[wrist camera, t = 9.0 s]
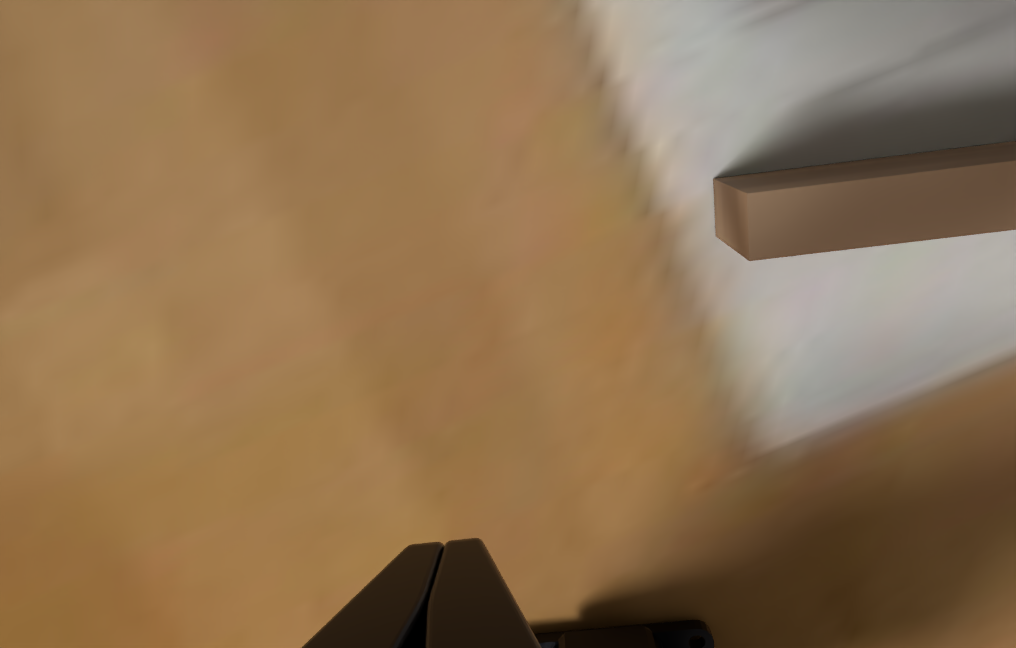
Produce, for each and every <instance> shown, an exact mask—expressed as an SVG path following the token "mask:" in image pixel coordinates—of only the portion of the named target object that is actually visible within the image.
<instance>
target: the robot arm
mask: <svg viewBox="0 0 1016 648" xmlns="http://www.w3.org/2000/svg"><path fill="white" fill-rule="evenodd" d="M696 635H697V636H701V637H700V638H699V639H697V640H690V638H691V637H693V636H696ZM302 648H714V641H713V637H712V634H711V631H710V629H709V626H708V625H707V624H706V623H705V622H702V621H700V620H686V621H675V622H664V623H653V624H642V625H631V626H620V627H609V628H598V629H587V630H576V631H565V632H554V633H543V634H534V633H533V632H532V630H531V628H530V626H529V624H528V623H527V621H526V619H525V617H524V615H523V613H522V612H521V610H520V608H519V606H518V604H517V603H516V601H515V599H514V597H513V595H512V594H511V592H510V590H509V588H508V586H507V585H506V583H505V581H504V579H503V577H502V576H501V574H500V572H499V570H498V568H497V566H496V565H495V563H494V561H493V559H492V557H491V556H490V554H489V552H488V550H487V548H486V547H485V545H484V543H483V541H482V540H481V539H479V538H471V539H462V540H452V541H448V542H447V543H446V544H445V546H444V545H443V543H441V542H432V543H422V544H412V545H409V546H408V547H406V548H405V549H404V550H403V551H402V552H401V553H400V554H399V555H398V556H397V557H395V558H394V559H393V560H392V561H391V562H390V563H389V564H388V565H387V566H386V567H385V568H384V569H383V570H382V571H381V572H380V573H379V574H378V575H377V576H376V577H375V578H374V579H373V580H372V581H370V582H369V583H368V584H367V585H366V586H365V587H364V588H363V589H362V590H361V591H360V592H359V593H358V594H357V595H356V596H355V597H354V598H353V599H352V600H351V601H350V602H349V603H348V604H347V605H345V606H344V607H343V608H342V609H341V610H340V611H339V612H338V613H337V614H336V615H335V616H334V617H333V618H332V619H331V620H330V621H329V622H328V623H327V624H326V625H325V626H324V627H323V628H322V629H320V630H319V631H318V632H317V633H316V634H315V635H314V636H313V637H312V638H311V639H310V640H309V641H308V642H307V643H306V644H305V645H304V646H303V647H302Z"/></svg>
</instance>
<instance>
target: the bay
mask: <svg viewBox="0 0 1016 648" xmlns="http://www.w3.org/2000/svg"><path fill="white" fill-rule="evenodd" d="M713 184H714V207H715V229H716V237H717V238H719V239H720V240H721V241H723V242H724V243H726V244H727V245H728V246H730V247H731V248H732V249H734V250H735V251H736V252H738V253H739V254H741V255H742V256H743V257H745V258H746V259H747V260H749V261H753V260H762V259H770V258H779V257H787V256H796V255H804V254H813V253H821V252H830V251H838V250H847V249H855V248H863V247H872V246H880V245H889V244H897V243H906V242H914V241H923V240H931V239H940V238H948V237H957V236H965V235H974V234H982V233H991V232H999V231H1007V230H1016V141H1011V142H1003V143H995V144H987V145H979V146H971V147H963V148H955V149H947V150H939V151H931V152H923V153H915V154H907V155H899V156H891V157H883V158H875V159H867V160H859V161H851V162H843V163H835V164H827V165H819V166H810V167H802V168H794V169H786V170H778V171H770V172H762V173H754V174H746V175H738V176H730V177H722V178H714V179H713Z"/></svg>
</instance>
